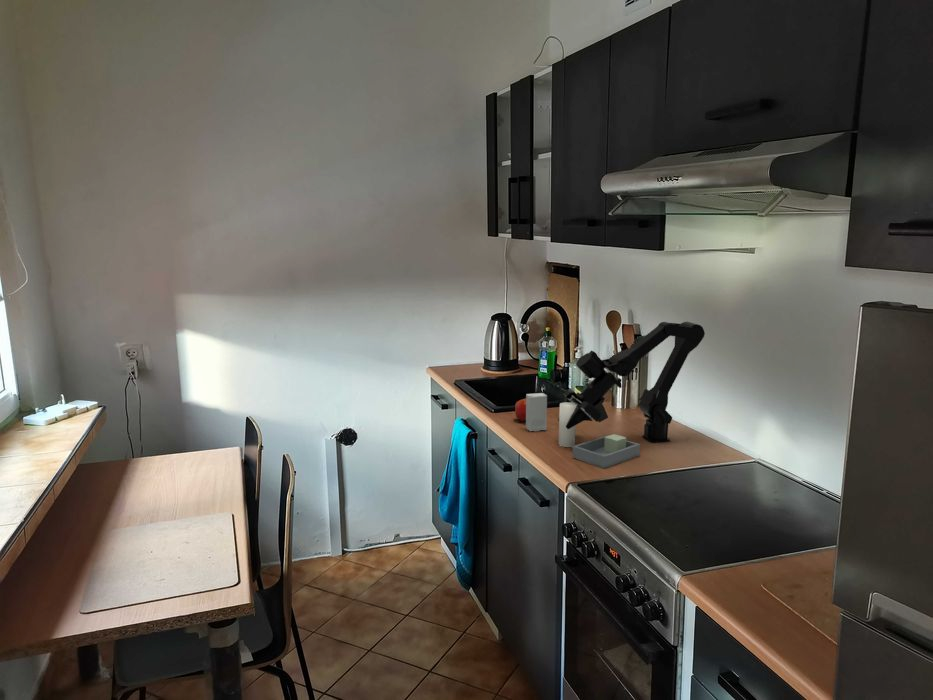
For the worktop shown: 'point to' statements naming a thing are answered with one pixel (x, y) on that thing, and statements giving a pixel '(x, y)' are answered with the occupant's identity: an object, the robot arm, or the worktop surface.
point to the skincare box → (536, 412)
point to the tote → (604, 453)
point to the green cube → (614, 443)
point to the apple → (521, 409)
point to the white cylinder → (564, 415)
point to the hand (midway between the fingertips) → (562, 424)
